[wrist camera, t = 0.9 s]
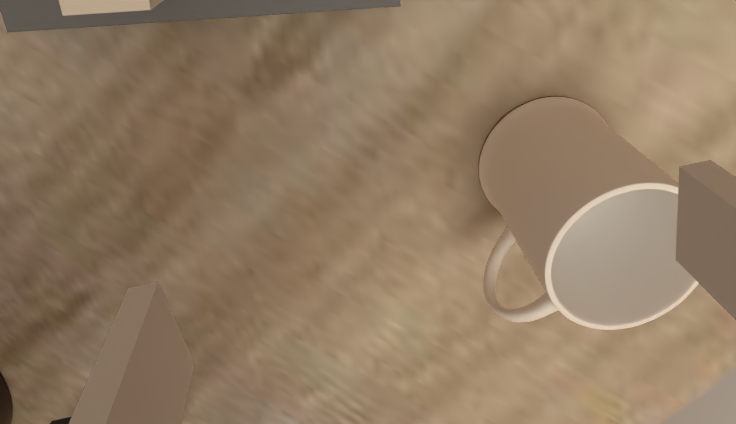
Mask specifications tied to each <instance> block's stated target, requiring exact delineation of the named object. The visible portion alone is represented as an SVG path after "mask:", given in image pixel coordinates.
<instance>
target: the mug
mask: <svg viewBox="0 0 736 424" xmlns="http://www.w3.org/2000/svg"><path fill="white" fill-rule="evenodd" d="M479 178H480V183H481V186H482V189H483V192H484V194H485V196H486V197H487V199H488V200H489V202H490V203H491V204H492V205H493V206H494V207H495V208H496V209H497V210H498V211H499V212H500V214H501V215H502V217H503V219H504V220H505V222H506V224H507V227H506V229H505V230H504V232H503V233H502V235H501V236H500V238H499V239H498V241H497V243H496V244H495V246H494V248H493V250H492V252H491V254H490V257H489V259H488V262H487V265H486V269H485V273H484V294H485V297H486V300H487V302H488V304H489V306H490V307H491V309H492V310H493V311H494V312H495V313H496V314H498V315H499V316H500V317H502V318H504V319H506V320H509V321H513V322H529V321H534V320H537V319H540V318H543V317H545V316H547V315H549V314H551V313H553V312H555V311H557V310H559V311H560V312H561V313H562V314H563V315H564V316H566V317H567V318H568V319H570V320H572V321H573V322H575V323H578V324H580V325H583V326H586V327H590V328H594V329H603V330H615V329H624V328H630V327H634V326H638V325H641V324H644V323H646V322H649V321H651V320H654V319H656V318H658V317H660V316H662V315H663V314H665V313H667V312H668V311H670V310H671V309H673V308H674V307H675V306H677V305H678V304H679V303H681V302H682V301H683V300H684V299H685V298H686V297H687V296H688V295H689V294H690V293H691V292H692V291H693V290H694V289H695V287H696V286H697V285H698V282H697V281H696V280H695V279H694V278H693V277H692V276H691V275H690V274H689V273H688V272H687V271H686V270H685V269H684V268H683V267H682V266H681V265H680V264H679V263H678V262H677V261H676V260H675V259H676V236H677V213H678V189H679V183H678V182H677V181H675V180H674V179H673V178H672V177H670V176H669V175H668V174H667V173H665V172H664V171H663V170H662V169H660V168H659V167H658V166H657V165H656V164H654V163H653V162H652V161H651V160H649V159H648V158H647V157H646V156H644V155H643V154H642V153H641V152H639V151H638V150H637V149H636V148H634V147H633V146H632V145H631V144H629V143H628V142H627V141H626V140H624V139H623V138H622V137H621V136H620V135H618V134H617V133H616V132H615V131H613V130H612V129H611V128H610V127H608V126H607V124H606V122H605V121H604V119H603V118H602V117H601V116H600V114H599V113H598V112H597V111H595V110H594V109H593V108H592V107H590V106H589V105H587V104H585V103H583V102H581V101H578V100H575V99H572V98H567V97H546V98H540V99H536V100H533V101H530V102H528V103H525V104H523V105H521V106H519V107H518V108H516V109H514V110H513V111H511V112H510V113H509V114H507V115H506V116H505V117H504V118H503V119H502V120H501V121H500V122H499V123H498V124H497V125H496V126H495V127H494V129H493V130H492V131H491V133H490V134H489V136H488V138H487V140H486V142H485V144H484V146H483V149H482V152H481V156H480V161H479ZM516 241H517V243H518V245H519V246H520V248H521V250H522V251H523V253H524V255H525V257H526V258H527V260H528V262H529V264H530V265H531V267H532V269H533V270H534V272H535V274H536V276H537V277H538V279H539V281H540V282H541V284H542V286H543V288H544V289H545V291H546V292H545V293H544V294H543V295H542V296H541V297H540V298H539V299H538V300H536V301H535V302H533V303H531V304H529V305H527V306H524V307H521V308H516V309H508V308H504V307H502V306H501V305H500V304H499V302H498V300H497V298H496V292H495V284H496V278H497V274H498V270H499V268H500V265H501V263H502V261H503V259H504V257H505V255H506V253H507V252H508V250H509V249H510V248H511V246H512V245H513V244H514V243H515V242H516Z"/></svg>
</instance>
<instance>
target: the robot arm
mask: <svg viewBox="0 0 736 424" xmlns="http://www.w3.org/2000/svg"><path fill="white" fill-rule="evenodd" d="M675 260H676V261H677V262H678V263H679V264H680V265H681V266H682V267H683V268H684V269H685V270H686V271H687V272H688V273H689V274H690V275H691V276H692V277H693V278H694V279H695V280H696V281H697V282H698V283H699V284H700V285H701V286H702V287H703V288H704V289H705V290H706V291H707V292H708V293H709V294H710V295H711V296H712V297H713V298H714V299H715V300H716V301H717V302H718V303H719V304H720V305H721V306H722V307H723V308H724V309H725V310H726V311H727V312H728V313H729V314H730V315H731V316H732V317H733V318H734V319H735V320H736V177H735V176H733V175H732V174H730V173H729V172H728V171H726V170H725V169H723V168H722V167H720V166H719V165H717V164H716V163H714V162H713V161H711V160H708V161H703V162H699V163H694V164H689V165H685V166H680V167H679V189H678V213H677V236H676V259H675ZM194 366H195V364H194V362H193V360H192V357H191V355H190V353H189V350H188V348H187V346H186V344H185V341H184V339H183V337H182V334H181V332H180V330H179V327H178V325H177V323H176V321H175V318H174V316H173V314H172V311H171V309H170V307H169V305H168V302H167V300H166V298H165V295H164V293H163V291H162V288H161V286H160V284H159V282H153V283H149V284H144V285H140V286H135V287H131V288H128V290H127V292H126V294H125V297H124V299H123V301H122V303H121V306H120V308H119V310H118V313H117V315H116V317H115V319H114V322H113V324H112V326H111V329H110V331H109V333H108V335H107V338H106V340H105V342H104V344H103V347H102V349H101V351H100V354H99V356H98V358H97V360H96V363H95V365H94V367H93V369H92V372H91V374H90V376H89V379H88V381H87V383H86V385H85V388H84V390H83V392H82V394H81V397H80V399H79V401H78V404H77V406H76V408H75V410H74V413H73V415H72V417H68V418H64V419H59V420H54V421H52V422H51V423H50V424H181V422H182V418H183V413H184V409H185V405H186V400H187V396H188V392H189V387H190V383H191V379H192V374H193V370H194ZM11 418H12V404H11V399H10V395H9V392H8V389H7V387H6V385H5V383H4V381H3V379H2V377H1V376H0V424H10V423H11Z"/></svg>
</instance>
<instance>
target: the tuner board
mask: <svg viewBox="0 0 736 424" xmlns="http://www.w3.org/2000/svg"><path fill="white" fill-rule="evenodd" d="M396 6H400V0H163V1H162V2H161V3H159V4H158V5H157V6H155V7H154V8H153V9H151V10H143V11H127V12H112V13H97V14H82V15H66V16H63V15H62V11H61V7H60V4H59V0H0V10H1V14H2V17H3V20H4V23H5V26H6V30H7V32H20V31H35V30H50V29H65V28H80V27H95V26H110V25H125V24H140V23H155V22H170V21H185V20H200V19H215V18H231V17H246V16H261V15H276V14H291V13H306V12H321V11H336V10H351V9H366V8H381V7H396Z"/></svg>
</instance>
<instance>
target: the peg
mask: <svg viewBox="0 0 736 424" xmlns="http://www.w3.org/2000/svg"><path fill="white" fill-rule="evenodd" d="M162 1H163V0H59V4H60V7H61V11H62V15H63V16H66V15H82V14H97V13H112V12H127V11H143V10H151V9H153V8H154V7H155V6H157V5H158V4H159V3H161V2H162Z"/></svg>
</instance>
